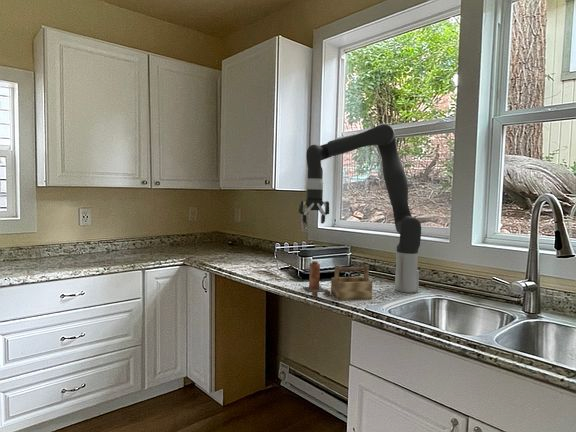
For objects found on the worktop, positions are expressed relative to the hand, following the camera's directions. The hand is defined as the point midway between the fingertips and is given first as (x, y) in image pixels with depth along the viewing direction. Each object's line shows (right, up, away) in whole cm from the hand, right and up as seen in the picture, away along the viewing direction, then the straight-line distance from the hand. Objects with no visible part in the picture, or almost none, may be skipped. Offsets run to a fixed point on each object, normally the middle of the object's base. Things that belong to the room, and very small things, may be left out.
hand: (313, 223), depth 186 cm
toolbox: (+14, -30, -21) cm, 39 cm away
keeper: (+2, -30, -21) cm, 36 cm away
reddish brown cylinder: (-1, -29, -12) cm, 31 cm away
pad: (-1, -29, -12) cm, 31 cm away
